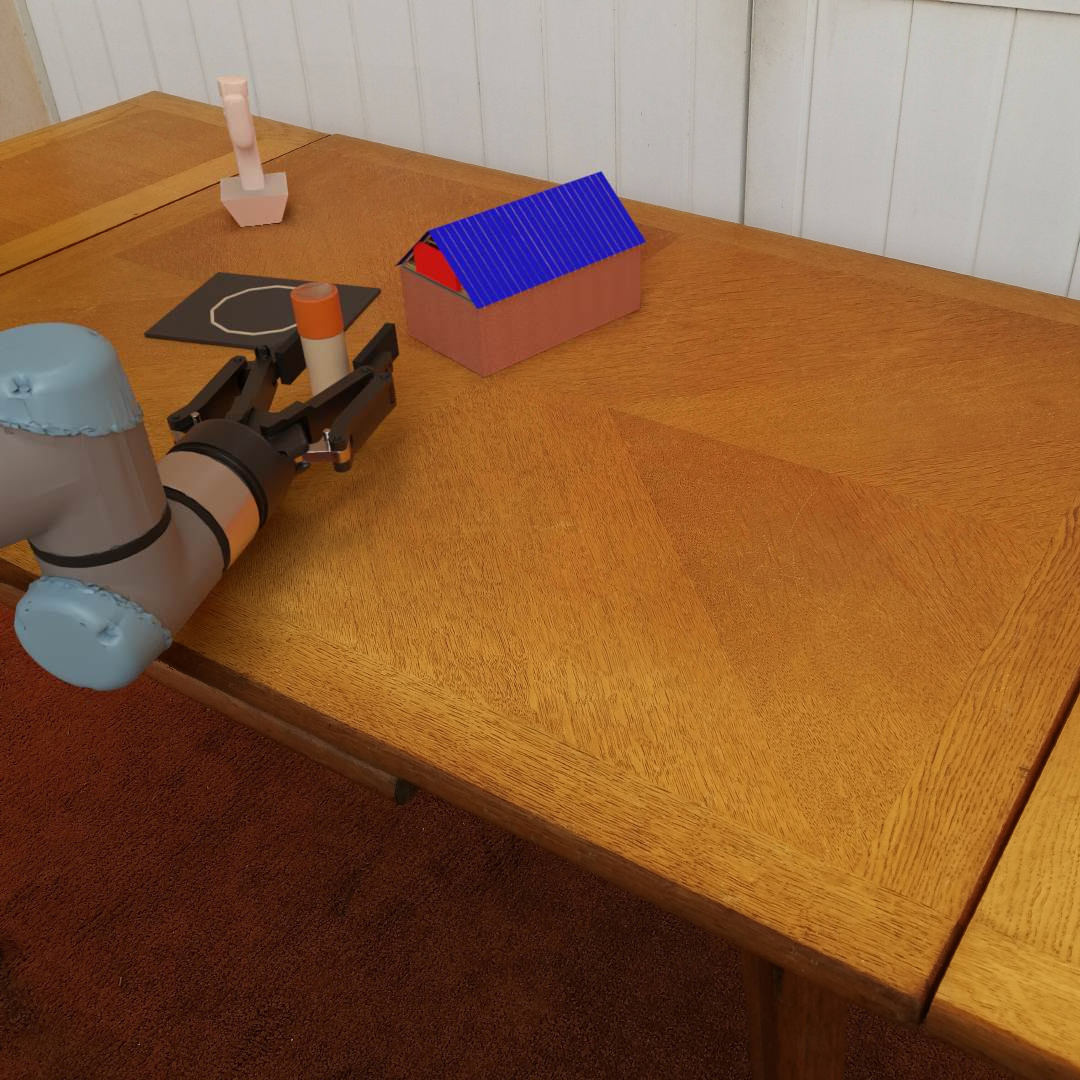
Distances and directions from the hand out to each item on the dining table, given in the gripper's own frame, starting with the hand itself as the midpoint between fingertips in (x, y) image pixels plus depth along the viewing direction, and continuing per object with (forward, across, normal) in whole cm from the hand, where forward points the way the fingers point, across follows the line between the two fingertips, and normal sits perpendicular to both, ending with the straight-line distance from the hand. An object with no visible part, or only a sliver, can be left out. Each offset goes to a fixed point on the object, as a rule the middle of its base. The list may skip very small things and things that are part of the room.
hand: (355, 334), depth 89 cm
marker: (-5, 0, -7) cm, 9 cm away
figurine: (+37, -29, -7) cm, 47 cm away
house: (+19, +8, -7) cm, 22 cm away
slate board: (+15, -17, -7) cm, 24 cm away
